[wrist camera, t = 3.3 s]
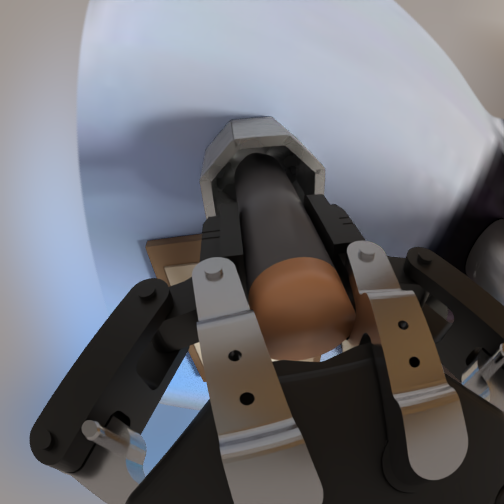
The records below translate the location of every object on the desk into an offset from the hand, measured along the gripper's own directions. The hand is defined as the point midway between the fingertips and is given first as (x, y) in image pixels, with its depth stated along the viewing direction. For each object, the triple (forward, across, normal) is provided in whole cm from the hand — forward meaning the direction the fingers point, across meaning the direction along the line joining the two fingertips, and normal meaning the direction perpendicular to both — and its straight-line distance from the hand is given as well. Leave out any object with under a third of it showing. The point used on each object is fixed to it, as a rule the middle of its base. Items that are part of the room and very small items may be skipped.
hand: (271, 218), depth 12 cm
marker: (+6, 0, 0) cm, 6 cm away
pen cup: (+7, 0, 0) cm, 7 cm away
